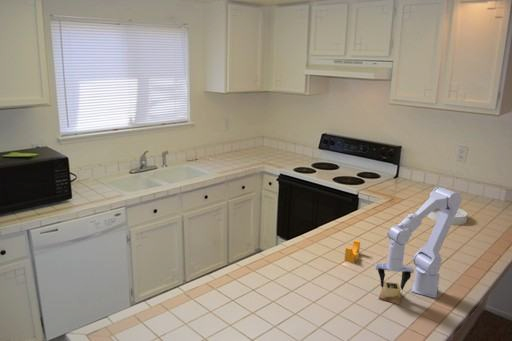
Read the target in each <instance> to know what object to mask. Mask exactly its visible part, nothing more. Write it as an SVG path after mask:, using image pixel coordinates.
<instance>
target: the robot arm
mask: <svg viewBox="0 0 512 341" xmlns="http://www.w3.org/2000/svg"><path fill="white" fill-rule="evenodd" d="M460 194H461V193H459V192H458V191H457V192H456V191H453V190H450V189H448V188H444V187H443V186H440V185H438V186H436V187H434V189H433V190H432V191H431V192H430V193H429V198H428V199H427V200H426V201H424V202H423V204H422V205H421V206H420V208H419V209H417V210H416V211H415V213H413V212H412V213H409V214H407V216H406V217H404V218H403V219H402V221H400V223H398V224H397V225H393V226H391V227H390V228H389V230H388V232H387V233H386V234H387V238H388V242H389V246H388V255H387V262H384V263H383V262H382V263H374V269H375V271H377V273H378V275H379V278H380V287H381V288H383V287H384V282H385V277H386V276H385V275H386V273H385V271H389V272H396V273H399V272H400V273H401V280H400V285H399V287H400V290H404V288H405V286H406V284H407V283H408V281H409V280H410V279H411V276H412V275H411V274H413V275H414V282H413V284H412V287H411V292H412V293H415V294H418V295H422V296H427V297H430V298H435V299H436V298H437V293H438V292H439V282H440V276H441V274H440V273H439V271H440V270H441V264H442V261H443V258H442V256H441V253H440V250H441V248H442V247H443V244H444V242H445V240H446V237H447V236H448V234H449V231H450V229H451V226H452V225H451V224H452V222H453V220H454V218H455V215H456V213H457V211H458V208H459V209H460V207H461V204H462V202H463V199H462V196H461V195H460ZM436 208H440V210H441V213H440V215H439V218H438V220H437V222H436V221H435V224H434V227H433V229H432V232H431V233H430V236H429V238H428V240H427V242H426V245H425V246H423V247H419V249H418V251H417V252H416V253H415V254H414V256H413V260H412V263H413V265H414V266H408V265H404V255H405V249H406V248H405V247H406V244H407V243H408V242H409V240H410V238H411V236H412V235H413V233H414V232H415V231H416V230H417V229H418V228H419V227H420V226H421V225H422V223H423V219H425V218H426V217H428V216H427V215H428V214H430V213H431V212H432V211H433V210H435V209H436ZM414 268H415V269H414ZM414 272H415V274H414Z"/></svg>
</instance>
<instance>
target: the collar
mask: <svg viewBox="0 0 512 341" xmlns="http://www.w3.org/2000/svg"><path fill="white" fill-rule="evenodd" d="M390 286H393V287H394V288H389V287H390ZM382 288H383V292H384V296H385V298H393V299H399V298H400V292H401V290H402V289H401V287H400V284H399V282H392V281H391V282H390V281H384V286H383V287H382Z"/></svg>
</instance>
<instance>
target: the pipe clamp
mask: <svg viewBox="0 0 512 341" xmlns="http://www.w3.org/2000/svg"><path fill="white" fill-rule="evenodd" d="M360 249H361V240H358V239H357V240H356V239H354V241H353V245H352V247H349V246H346V247H345V251H344V261H346V262H348V263H349V262H350V263H352V264H353V263H355V262H356V261H357V260H358V259H359V254H360Z"/></svg>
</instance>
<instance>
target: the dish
mask: <svg viewBox="0 0 512 341" xmlns="http://www.w3.org/2000/svg"><path fill="white" fill-rule="evenodd" d="M440 213H441V210H440V208H436V209H435V210H433V211H432V212H431V213H430V214H428V215H427V216H426V217H428V219H430V220H432V221H434V222H435V223H436V222H437V220H438V218H439V215H440ZM467 216H468V213H467V211H465V210H464V209H462V208H460V207H459V208H458V211H457V213H456V215H455V218H454V220H453V222H452V224H451V226H458V225H459V226H460V225H465V224H466V223H467V221H468V220H467Z"/></svg>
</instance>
